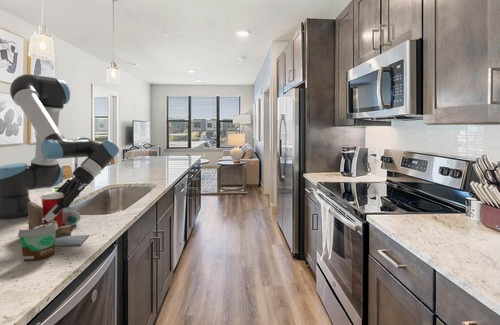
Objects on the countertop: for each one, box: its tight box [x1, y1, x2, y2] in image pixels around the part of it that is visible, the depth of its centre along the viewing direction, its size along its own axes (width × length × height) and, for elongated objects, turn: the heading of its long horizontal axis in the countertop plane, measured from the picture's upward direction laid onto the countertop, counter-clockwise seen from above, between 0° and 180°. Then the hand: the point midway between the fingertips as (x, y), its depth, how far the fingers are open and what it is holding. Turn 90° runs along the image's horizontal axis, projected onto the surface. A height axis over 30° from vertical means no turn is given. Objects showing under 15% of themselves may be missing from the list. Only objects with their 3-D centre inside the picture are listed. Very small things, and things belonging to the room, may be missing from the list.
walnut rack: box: [27, 201, 72, 239], centre depth 121 cm, size 10×13×12 cm
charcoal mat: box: [55, 234, 90, 248], centre depth 114 cm, size 10×10×1 cm
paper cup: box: [40, 191, 64, 227], centre depth 122 cm, size 8×8×14 cm
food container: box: [17, 220, 58, 262], centre depth 100 cm, size 12×6×10 cm, turn 170°
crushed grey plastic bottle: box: [63, 205, 81, 227], centre depth 138 cm, size 13×7×25 cm
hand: (42, 218), depth 119 cm, fingers closed on paper cup, 8 cm apart
